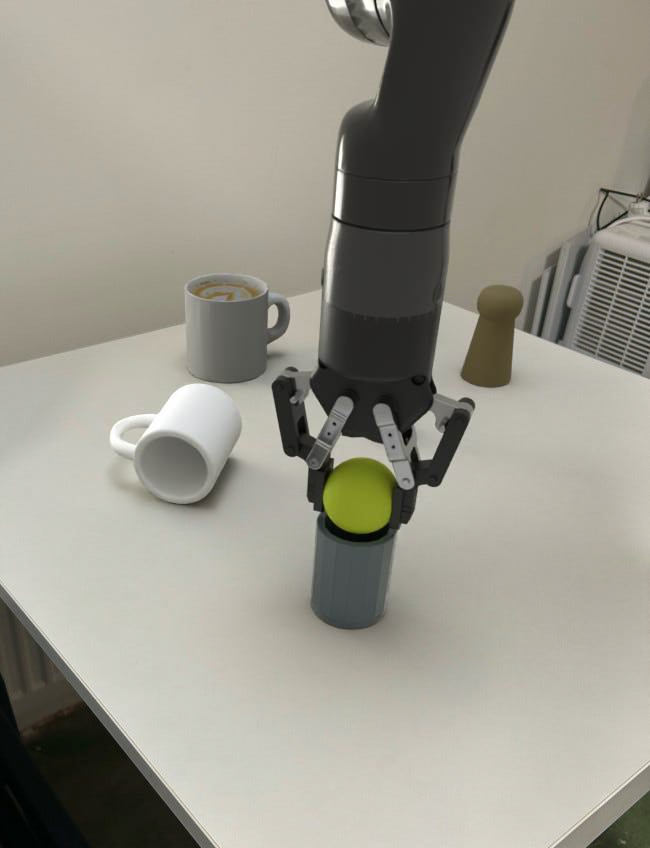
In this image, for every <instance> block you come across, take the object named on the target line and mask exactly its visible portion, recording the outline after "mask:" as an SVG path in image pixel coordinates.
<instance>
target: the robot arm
mask: <svg viewBox="0 0 650 848" xmlns="http://www.w3.org/2000/svg"><path fill="white" fill-rule="evenodd" d="M516 1H517V0H324V3H325V5H326V7H327V9H328V13H329V14H330V16H331V18H332V19H333V21H334V22H335V24H336V25H337V26H338V27H339V28H340V29H341V30H342V31H343V32H345V33H346V34H347V35H349V36H351V37H353V38H354V39H355V40H357V41H359V42H362V43H366V44H368V45H373V46H379V47H384V48H388V49H387V54H386V59H385V61H384V65H383V66H384V67H383V70H382V74H381V77H380V81H379V84H378V88H377V91H376V94H375V97H374V98H371V99H368V100H364V101H361V102H359V103H357V104H354V105H353V106H351V107H350V108H349V109H348V110H347V111H346V112H345V113H344V115H343V116H342V119H341V121H340V124H339V127H338V131H337V136H336V143H335V152H334V169H333V185H332V201H331V213H330V220H329V221H330V222H329V227H328V233H327V237H326V242H325V248H324V254H323V255H324V256H323V258H324V259H323V267H322V268H321V274H320V285H321V300H320V301H321V302H320V316H319V317H320V318H319V319H320V320H319V333H318V348H317V349H318V350H317V363H316V365H315V368H314V369H313V370H306V371H304V370H303V371H300V370H299V369H298V368H297V367H295V366H291V365H290V366H286V367H285V368H284V370H283V371H281V372H280V374H278V375H277V377H276V378H275V379H274V380H273V382H272V383H271V393H272V398H273V403H274V408H275V413H276V418H277V419H276V420H277V424H278V429H279V434H280V435H279V436H280V439H281V445H282V450H283V453H284V454H285V455H286V456H287V457H289V458H296V457H298V458H300V459H301V460H303V461H304V463H306V466H307V469H308V470H307V486H306V498H307V501H308V503H311V504H313V509H312V510H313V511H315V512H319V513H320V512H322V513H323V512H324V510H325V507H324V504H323V492H324V487H325V483H326V480H327V478H328V476H329V474H330V473H331V471H332V470H333V469H334V468H335V467H334V465H335V457H331V455H332V451H333V449H334V448H335V446H336V444H337V442H338V440H339V438H340V437H341V436H342V437H347V438H353V439H354V438H356V439H357V438H364V439H367V440H368V441H371V442H373V443H376V444H381V445H383V446H384V450H385V454H386V458H387V460H388V462H389V463H391V466H392V468H393V472H394V476H395V478H396V480H397V483H396V485H395V487H394V492H393V500H392V507H391V515H390V522H389V528H391V529H396V530H398V531H399V530H400V528H401V526H402V524H403V525H408V524H409V522H410V521H411V519H412V516H413V515H414V512H415V510H416V505H417V498H418V492H419V487H421V486H424V485H427V486H428V487H431V488H437V487H439V486H441V484H442V482H443V481H444V478H445V477H446V474H447V471H448V470H449V468H450V466H451V463H452V460H453V458H454V456H455V455H456V453H457V450H458V448H459V446H460V444H461V441H462V439H463V437H464V435H465V433H466V430H467V428H468V427H469V424H470V421H471V419H472V417H473V414H474V412H475V409H476V403H475V401H474V400H473V399H472V398H470V397H464V396H463V397H461V398H460V399H458V400H456V399H453V398H450V397H448V396H445V395H443V394H440V393H439V392H438V391H437V386H436V384H435V381H434V378H433V369H434V361H435V355H436V349H437V343H438V335H439V329H440V324H441V323H440V322H441V316H442V310H443V304H444V297H445V290H446V284H447V277H448V276H447V275H448V270H449V262H450V249H451V246H450V245H451V244H450V243H451V240H450V239H451V221H452V215H453V207H454V201H455V195H456V188H457V182H458V174H459V168H460V158H461V157H460V156H461V149H462V145H463V143H464V139H465V137H466V134H467V132H468V130H469V127H470V125H471V123H472V120H473V119H474V116H475V113H476V111H477V108H478V107H479V104H480V101H481V99H482V96H483V93H484V91H485V88H486V85H487V83H488V80H489V77H490V75H491V72H492V70H493V67H494V64H495V62H496V60H497V56H498V54H499V51H500V49H501V47H502V44H503V41H504V39H505V37H506V33H507V31H508V27H509V25H510V22H511V19H512V16H513V13H514V8H515V5H516ZM310 390H311V391H312V393H313V395H314V396H315V398H316V400H317V402H318V403H319V405H320V406H321V408H322V409H323V412H324V413H325V415H326V416H327V418H326V420H325V422H324V424H323V426H322V428H321V429H320V431H319V433H318V436H317V437H314V436H313V435H310V428H309V422H308V417H307V410H306V405H305V401H306V399H307V398H308V396H309V394H310ZM429 411H430V412H431V413H433V414H434V417H435V422H434V427H435V429H437V431H438V432H439V433H441V434H442V436H441V438H440V441H439V443H438V445H437V448H436V449H435V451H434V454H433V456H432V458H430V459H422V458H421V455H420V451H419V447H418V435H417V431H416V426H415V424H416V423H417V422H418V421H419V420H420V419H422V418H423V417H424V416H425V415H426V414H427V413H428V412H429Z"/></svg>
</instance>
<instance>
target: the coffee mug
mask: <svg viewBox="0 0 650 848" xmlns="http://www.w3.org/2000/svg"><path fill="white" fill-rule="evenodd" d="M273 305H275V306H276V309H277V320H276V322H275V324H274V325H273V326H272V327H269V325H268V324H269V323H268V322H269V309H270V308H271V306H273ZM184 312H185V315H184V316H185V341H186V342H185V343H186V344H185V345H186V347H185V348H186V368H187V370H188V371H189V373H190V374H192V375H193V376H195V377H196V378H198V379H200V380H204V381H207V382H212V383H220V384H232V383H241V382H247V381H250V380H253V379H255V378H258V377H260V376H261V375H262V374H264V373H265V371H266V370H267V360H268V354H267V353H268V345H270V344H271V343H273V342H275V341H277V340H278V339H280V338H281V337H283V335H285V333H286V332H287V330H288V328H289V325H290V322H291V307H290V302H289V300H288V299H287V298H286V297H285V296H284V295H282V294H281V293H279V292H269V285H268V283H267V282H266V281H264V280H263V279H261V278H258V277H256V276H253V275H249V274H244V273H235V272H234V273H233V272H219V273H218V272H217V273H209V274H203V275H199V276H196V277H194V278H191V279H190V280H189V281H187V282H186V283H185V285H184Z"/></svg>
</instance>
